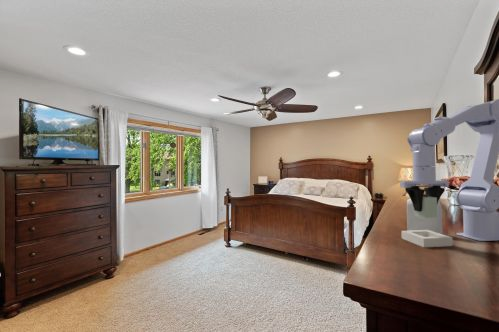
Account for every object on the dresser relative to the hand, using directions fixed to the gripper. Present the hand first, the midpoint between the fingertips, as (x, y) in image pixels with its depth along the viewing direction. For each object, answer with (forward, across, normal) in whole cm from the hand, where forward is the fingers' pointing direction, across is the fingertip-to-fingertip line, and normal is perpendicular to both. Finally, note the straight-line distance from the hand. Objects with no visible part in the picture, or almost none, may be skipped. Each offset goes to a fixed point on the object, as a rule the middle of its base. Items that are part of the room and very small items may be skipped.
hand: (424, 210), depth 75 cm
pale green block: (+2, 0, 0) cm, 2 cm away
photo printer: (+10, -8, -10) cm, 16 cm away
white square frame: (+10, 0, 0) cm, 10 cm away
